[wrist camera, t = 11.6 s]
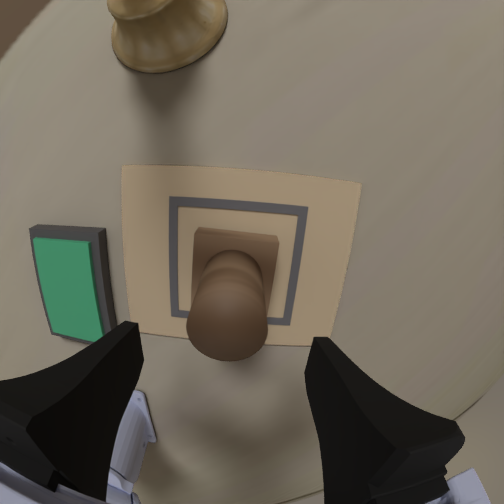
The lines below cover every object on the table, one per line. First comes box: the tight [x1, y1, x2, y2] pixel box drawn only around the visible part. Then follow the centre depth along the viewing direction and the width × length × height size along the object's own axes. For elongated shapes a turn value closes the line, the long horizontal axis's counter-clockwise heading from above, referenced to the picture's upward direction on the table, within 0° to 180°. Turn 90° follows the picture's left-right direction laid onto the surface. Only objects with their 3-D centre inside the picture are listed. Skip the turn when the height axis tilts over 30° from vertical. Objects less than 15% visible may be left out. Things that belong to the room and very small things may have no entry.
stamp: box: [186, 227, 280, 361], centre depth 16 cm, size 5×5×8 cm
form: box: [122, 165, 362, 346], centre depth 20 cm, size 13×16×1 cm
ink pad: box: [29, 224, 117, 344], centre depth 20 cm, size 10×7×2 cm
